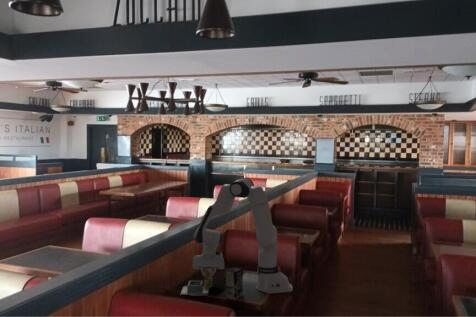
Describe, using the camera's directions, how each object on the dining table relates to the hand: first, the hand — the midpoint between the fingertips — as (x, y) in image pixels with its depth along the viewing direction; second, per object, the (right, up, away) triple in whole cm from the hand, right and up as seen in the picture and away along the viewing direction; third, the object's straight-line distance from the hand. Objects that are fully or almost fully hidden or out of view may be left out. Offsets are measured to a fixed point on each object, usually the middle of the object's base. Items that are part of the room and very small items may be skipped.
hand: (208, 274), depth 247 cm
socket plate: (-7, -8, -9) cm, 14 cm away
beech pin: (0, -7, +1) cm, 7 cm away
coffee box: (+17, -8, -17) cm, 25 cm away
